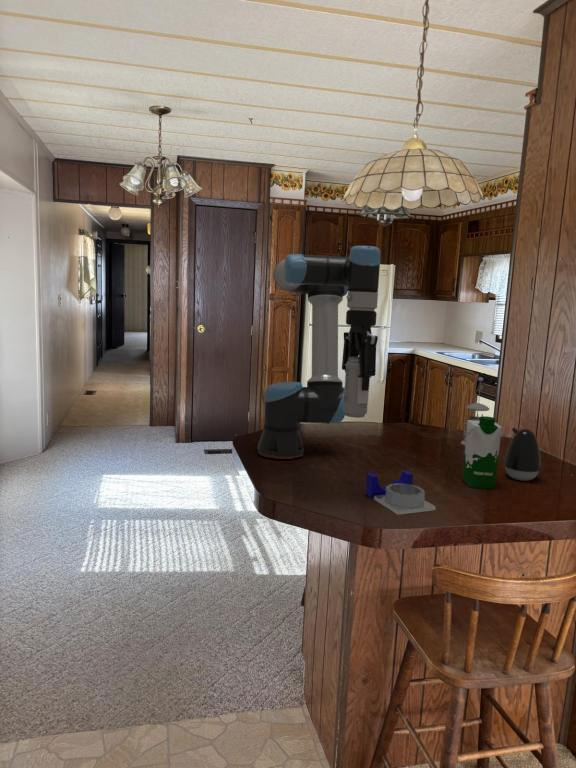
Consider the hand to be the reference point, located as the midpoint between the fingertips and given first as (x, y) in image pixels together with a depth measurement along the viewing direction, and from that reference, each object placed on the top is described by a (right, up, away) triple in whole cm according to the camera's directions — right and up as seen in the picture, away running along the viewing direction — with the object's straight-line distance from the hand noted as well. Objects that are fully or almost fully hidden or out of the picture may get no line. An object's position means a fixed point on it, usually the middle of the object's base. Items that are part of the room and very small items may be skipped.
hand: (356, 400), depth 147 cm
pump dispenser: (+53, -24, +26) cm, 64 cm away
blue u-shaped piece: (+9, -25, +7) cm, 28 cm away
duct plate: (+12, -26, -1) cm, 29 cm away
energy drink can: (0, -4, +1) cm, 4 cm away
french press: (+51, -18, +65) cm, 85 cm away
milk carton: (+37, -25, +19) cm, 49 cm away
